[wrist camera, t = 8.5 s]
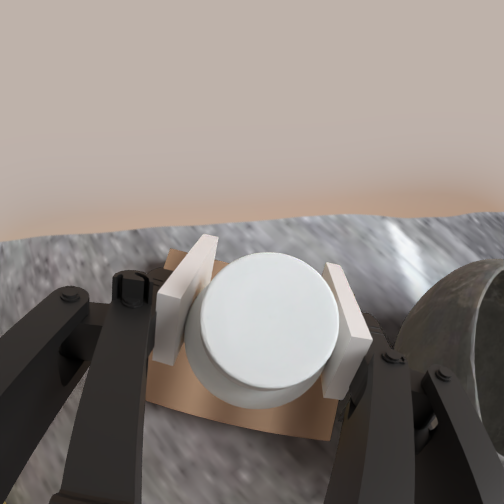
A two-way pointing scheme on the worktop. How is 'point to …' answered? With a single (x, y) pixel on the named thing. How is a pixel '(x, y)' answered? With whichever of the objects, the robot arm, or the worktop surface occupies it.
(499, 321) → the bowl
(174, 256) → the well board
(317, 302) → the supplement bottle
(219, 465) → the worktop surface
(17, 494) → the worktop surface
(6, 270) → the worktop surface
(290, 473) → the worktop surface
